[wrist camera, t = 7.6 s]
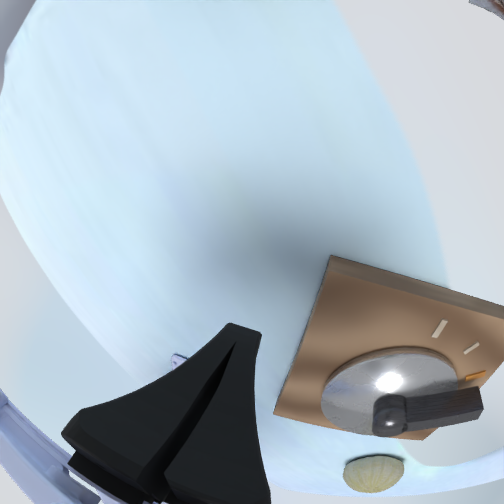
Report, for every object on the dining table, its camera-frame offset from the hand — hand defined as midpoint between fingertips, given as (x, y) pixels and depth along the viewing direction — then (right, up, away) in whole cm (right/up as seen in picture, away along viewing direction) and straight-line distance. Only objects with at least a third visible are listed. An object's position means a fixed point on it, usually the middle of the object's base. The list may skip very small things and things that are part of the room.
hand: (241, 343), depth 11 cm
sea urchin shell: (+19, -27, +20) cm, 39 cm away
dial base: (+13, -7, +11) cm, 18 cm away
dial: (+13, -8, +9) cm, 18 cm away
